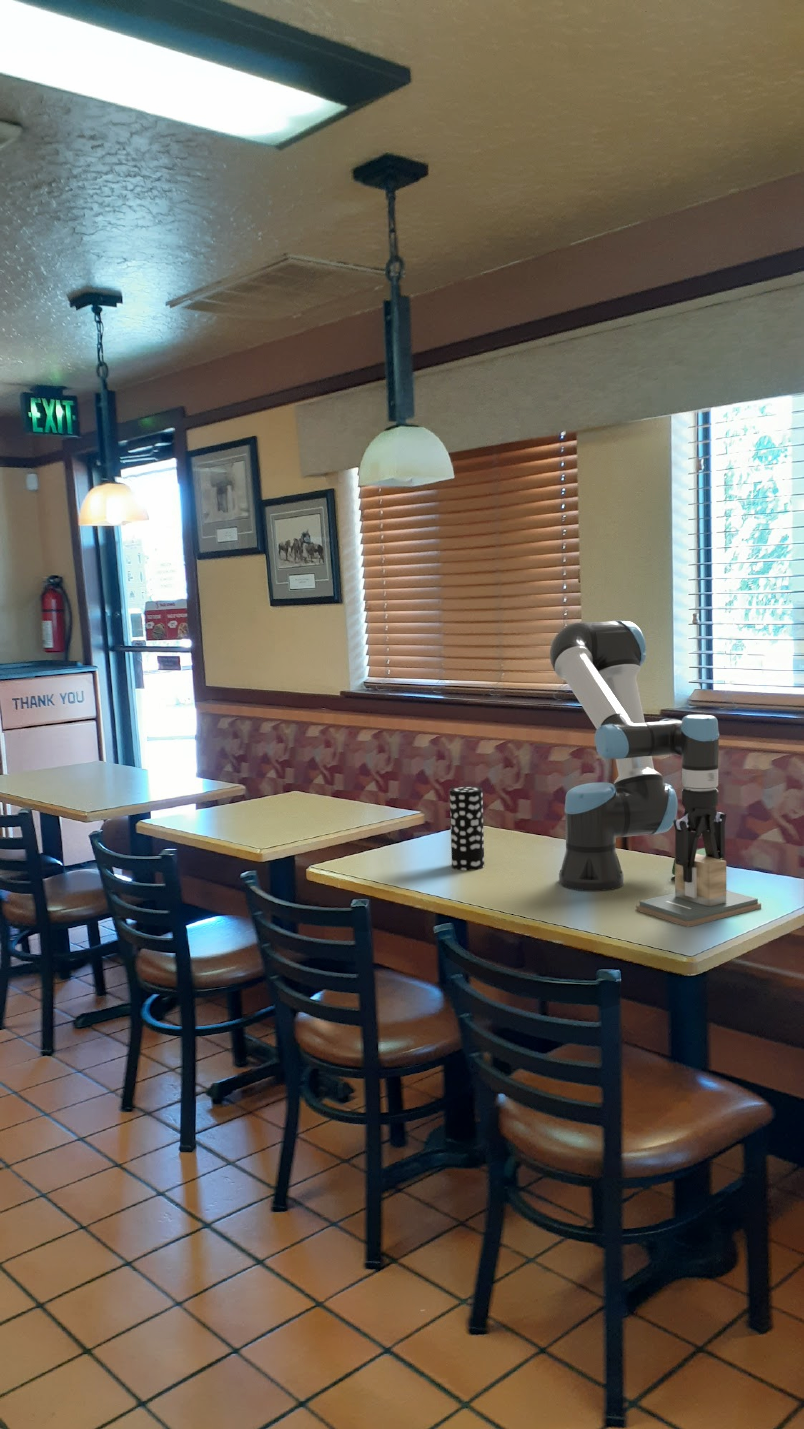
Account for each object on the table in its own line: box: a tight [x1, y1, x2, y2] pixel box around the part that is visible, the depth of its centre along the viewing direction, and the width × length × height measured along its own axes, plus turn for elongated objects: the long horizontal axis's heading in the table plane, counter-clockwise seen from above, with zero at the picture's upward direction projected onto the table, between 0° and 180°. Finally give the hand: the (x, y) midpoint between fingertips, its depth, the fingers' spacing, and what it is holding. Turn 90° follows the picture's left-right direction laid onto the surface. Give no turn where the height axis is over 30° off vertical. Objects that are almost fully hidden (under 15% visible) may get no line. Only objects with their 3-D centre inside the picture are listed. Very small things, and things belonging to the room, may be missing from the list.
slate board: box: [635, 889, 762, 928], centre depth 231 cm, size 15×22×2 cm
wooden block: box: [674, 854, 727, 907], centre depth 231 cm, size 10×5×9 cm, turn 30°
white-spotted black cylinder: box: [449, 786, 485, 872], centre depth 273 cm, size 8×8×20 cm
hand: (700, 893), depth 231 cm, fingers closed on wooden block, 5 cm apart
